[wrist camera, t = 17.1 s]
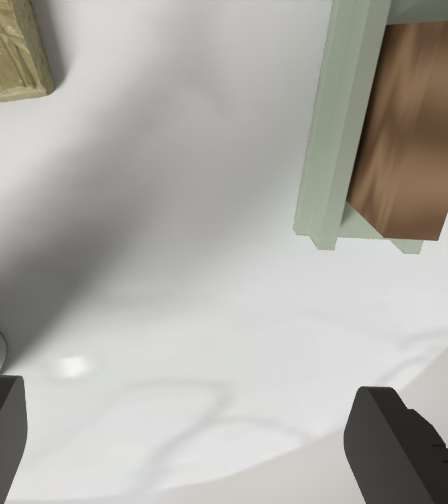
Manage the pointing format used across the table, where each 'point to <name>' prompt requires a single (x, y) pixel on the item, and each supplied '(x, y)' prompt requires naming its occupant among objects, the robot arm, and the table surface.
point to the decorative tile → (22, 54)
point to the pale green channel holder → (348, 116)
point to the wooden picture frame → (405, 136)
